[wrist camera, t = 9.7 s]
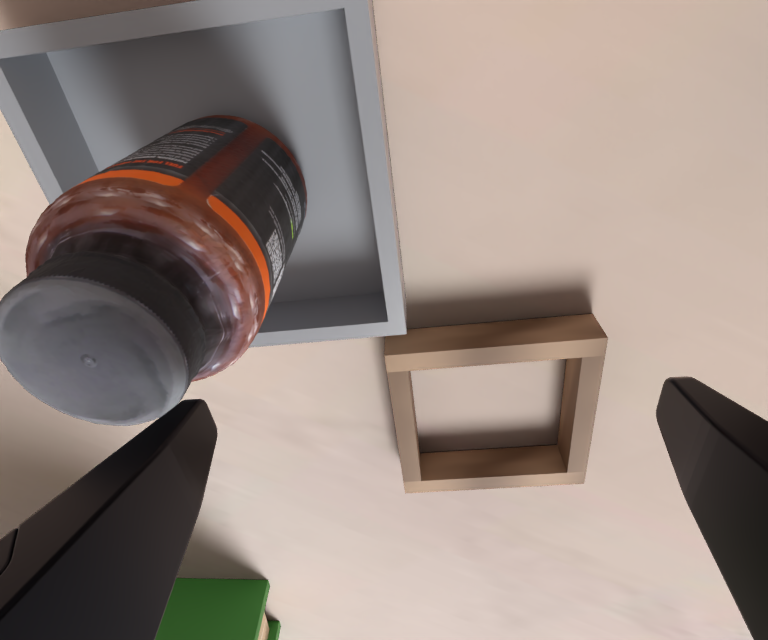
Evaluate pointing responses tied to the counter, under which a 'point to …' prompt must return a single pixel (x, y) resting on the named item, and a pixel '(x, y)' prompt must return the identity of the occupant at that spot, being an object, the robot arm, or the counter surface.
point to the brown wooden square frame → (498, 346)
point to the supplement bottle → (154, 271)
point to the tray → (241, 99)
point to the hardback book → (217, 611)
